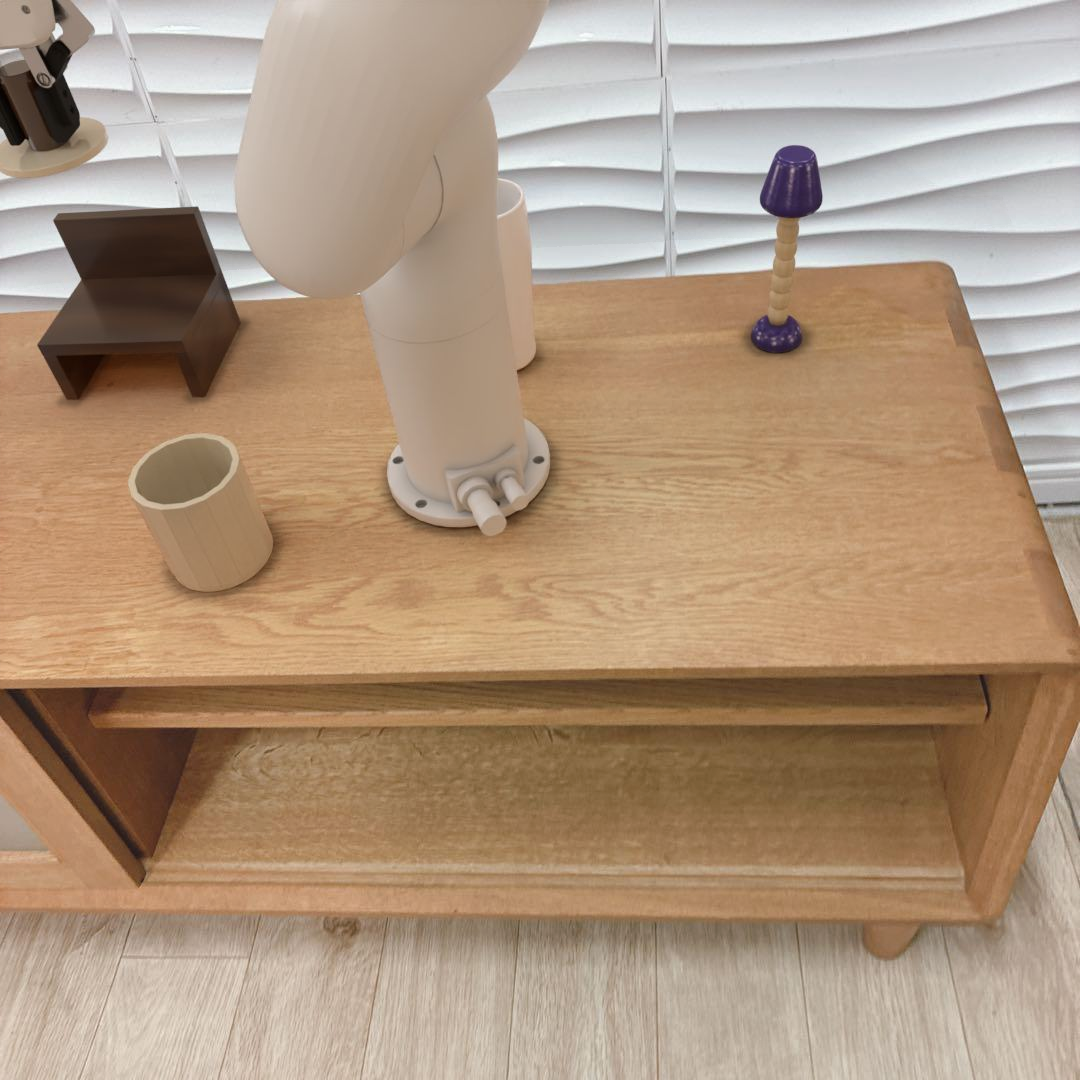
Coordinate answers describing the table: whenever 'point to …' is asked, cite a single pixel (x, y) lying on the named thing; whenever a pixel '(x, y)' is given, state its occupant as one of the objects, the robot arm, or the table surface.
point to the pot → (202, 511)
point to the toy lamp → (786, 239)
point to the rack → (140, 296)
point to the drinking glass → (516, 268)
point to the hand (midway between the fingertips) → (45, 133)
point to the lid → (42, 132)
